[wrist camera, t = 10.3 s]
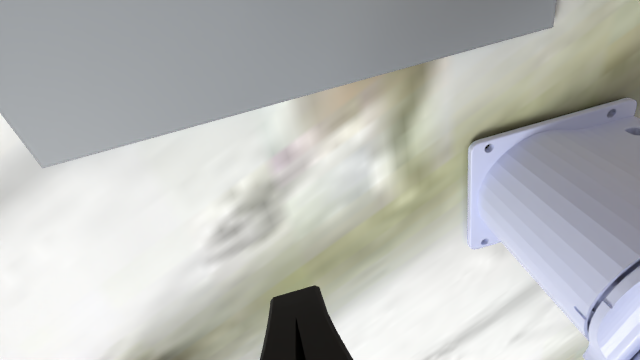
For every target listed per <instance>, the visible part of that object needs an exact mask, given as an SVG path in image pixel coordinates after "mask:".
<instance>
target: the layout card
mask: <svg viewBox="0 0 640 360" xmlns="http://www.w3.org/2000/svg"><path fill="white" fill-rule="evenodd" d="M556 1H557V0H0V113H1V114H2V116H3V117H4V118H5V120H6V121H7V122H8V124H9V125H10V126H11V128H12V129H13V130H14V132H15V133H16V134H17V135H18V137H19V138H20V139H21V141H22V142H23V143H24V145H25V146H26V147H27V149H28V150H29V151H30V153H31V154H32V155H33V157H34V158H35V159H36V160H37V162H38V163H39V164H40V166H41V167H42V168H46V167H49V166H53V165H56V164H60V163H64V162H67V161H71V160H74V159H78V158H82V157H85V156H89V155H92V154H96V153H100V152H103V151H107V150H111V149H114V148H118V147H121V146H125V145H129V144H132V143H136V142H139V141H143V140H147V139H150V138H154V137H158V136H161V135H165V134H168V133H172V132H176V131H179V130H183V129H186V128H190V127H194V126H197V125H201V124H205V123H208V122H212V121H215V120H219V119H223V118H226V117H230V116H233V115H237V114H241V113H244V112H248V111H252V110H255V109H259V108H262V107H266V106H270V105H273V104H277V103H280V102H284V101H288V100H291V99H295V98H299V97H302V96H306V95H309V94H313V93H317V92H320V91H324V90H327V89H331V88H335V87H338V86H342V85H346V84H349V83H353V82H356V81H360V80H364V79H367V78H371V77H374V76H378V75H382V74H385V73H389V72H393V71H396V70H400V69H403V68H407V67H411V66H414V65H418V64H421V63H425V62H429V61H432V60H436V59H439V58H443V57H447V56H450V55H454V54H458V53H461V52H465V51H468V50H472V49H476V48H479V47H483V46H486V45H490V44H494V43H497V42H501V41H505V40H508V39H512V38H515V37H519V36H523V35H526V34H530V33H533V32H537V31H541V30H544V29H548V28H552V27H553V24H554V16H555V9H556Z"/></svg>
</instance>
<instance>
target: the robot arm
mask: <svg viewBox="0 0 640 360" xmlns="http://www.w3.org/2000/svg"><path fill="white" fill-rule="evenodd" d="M636 107H637V102H636V100H634V99H631V98H624V99H620V100H617V101H613V102H609V103H606V104H602V105H599V106H595V107H592V108H588V109H585V110H581V111H578V112H574V113H571V114H567V115H564V116H560V117H557V118H553V119H550V120H546V121H543V122H539V123H536V124H532V125H528V126H525V127H521V128H518V129H514V130H511V131H507V132H504V133H500V134H497V135H493V136H490V137H486V138H483V139H479V140H476V141H474V142H473V143H472V144H471V145H470V146H469V149H468V228H467V243H468V245H469V247H470V248H471V249H479V248H482V247H486V246H489V245H493V244H496V243H499V242H502V243H503V244H504V246H505V247H506V248H507V249H508V250H509V251H510V252H511V254H512V255H513V256H514V257H515V258H516V259H517V260H518V262H519V263H520V264H521V265H522V266H523V267H524V268H525V269H526V271H527V272H528V273H529V274H530V275H531V276H532V277H533V279H534V280H535V281H536V282H537V283H538V284H539V285H540V286H541V288H542V289H543V290H544V291H545V292H546V293H547V294H548V296H549V297H550V298H551V299H552V300H553V301H554V302H555V303H556V305H557V306H558V307H559V308H560V309H561V310H562V311H563V313H564V314H565V315H566V316H567V317H568V318H569V319H570V320H571V322H572V323H573V324H574V325H575V326H576V327H577V328H578V330H579V331H580V332H581V333H582V334H583V335H584V336H585V337H586V339H587V340H588V341H589V346H588V348H587V350H586V351H585V352H584V354H583V358H584V359H585V360H640V118H637V117H635V116H634V114H635V111H636ZM608 112H609V113H608ZM489 144H490V145H489ZM487 145H489V147H488V148H487V149H485V147H486V146H487ZM260 360H353V358H352V357H351V355H350V353H349V352H348V350H347V348H346V347H345V345H344V343H343V341H342V340H341V338H340V336H339V334H338V332H337V331H336V329H335V327H334V325H333V323H332V321H331V318H330V316H329V314H328V312H327V309H326V306H325V303H324V300H323V297H322V294H321V291H320V288H319V287H318V286H315V285H314V286H311V287H307V288H304V289H301V290H297V291H294V292H290V293H287V294H283V295H280V296H277V297H273V299H272V300H271V302H270V311H269V318H268V324H267V329H266V335H265V339H264V344H263V349H262V353H261V357H260Z"/></svg>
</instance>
